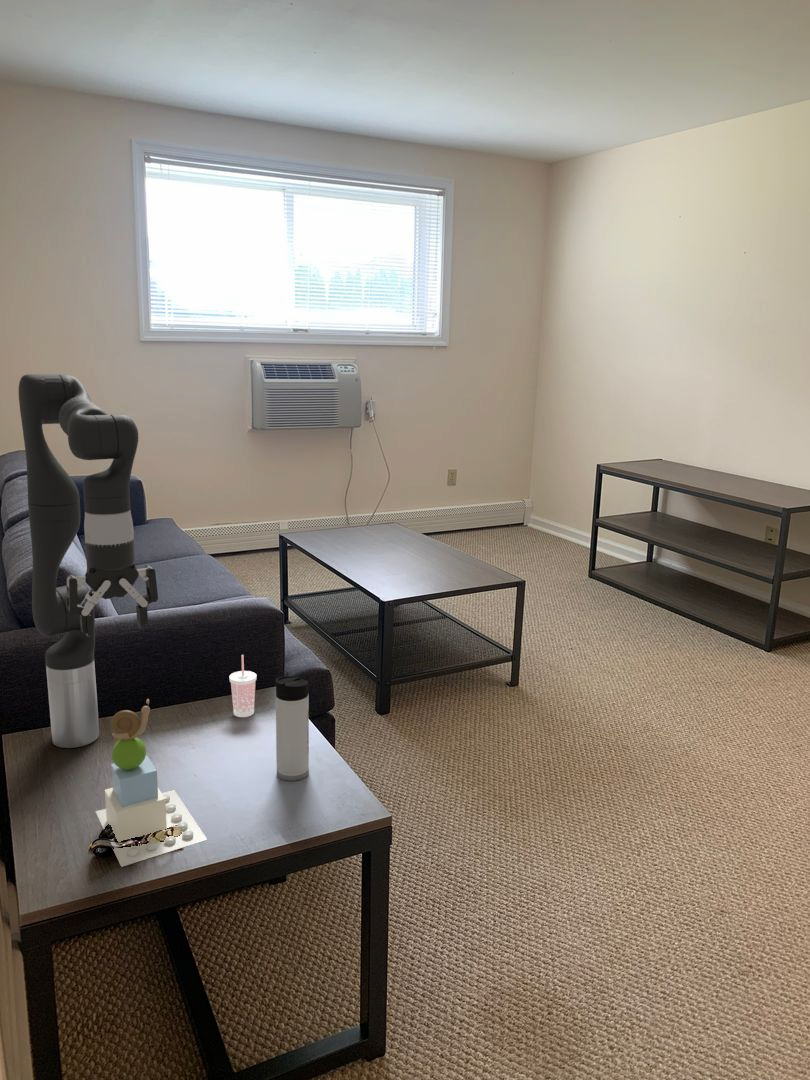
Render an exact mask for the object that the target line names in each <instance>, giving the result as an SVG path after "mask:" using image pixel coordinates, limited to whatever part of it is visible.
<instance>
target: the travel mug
mask: <svg viewBox="0 0 810 1080" xmlns="http://www.w3.org/2000/svg"><path fill="white" fill-rule="evenodd" d="M309 695H310V693H309V681H308V680H305V679H303V678H301V677H300V676H296V675H285V676H279V677H277V678H276V679H275V741H276V742H275V743H276V744H275V747H276V748H275V749H276V751H275V752H276V753H275V754H276V775H277V777H278V778H279V779H281V780H284V781H287V782H288V781H289V782H294V781H299V780H303V779H305V778H306V777H307V776H308V774H309V771H310V769H309V768H310V766H309V765H310V763H309V762H310V759H309V755H310V753H309V751H310V750H309V749H310V746H309V744H310V743H309V741H310V739H309V738H310V737H309V736H310V735H309V733H310V732H309V731H310V730H309V729H310V728H309V727H310V726H309V725H310V724H309V721H310V720H309V717H310V716H309V715H310V711H309V710H310V709H309V706H310V705H309V704H310V702H309V700H310V699H309V698H310V697H309Z"/></svg>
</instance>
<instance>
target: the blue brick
mask: <svg viewBox="0 0 810 1080" xmlns="http://www.w3.org/2000/svg"><path fill="white" fill-rule="evenodd" d="M110 767H111V768H110V769H111V770H110V771H111V785H112V786H111V788H113V792H114V794H115V796H116V798H117V800H118V802H119V803H120V805H121V807H125V806H129V805H132V804H136V803H140V802H143V801H147V800H151V799H154V798H158V788H159V785H158V770H157V769H156V766H154V763H153V762H152V761H151V759H150V757H149V756H148V755H147V754H146V756H145V759H144V761H143V762H142V763H141V764H140V765H139V766H138V767H136V768H134V769H131V770H124V769H121V768H119V767H118V766H116V765H115V763H114V762H113V763H110Z"/></svg>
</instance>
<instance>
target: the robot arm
mask: <svg viewBox="0 0 810 1080" xmlns="http://www.w3.org/2000/svg"><path fill="white" fill-rule="evenodd" d="M18 402H19V404H18V405H19V412H20V413H19V414H20V420H21V427H22V433H23V441H24V449H25V460H26V461H25V462H26V480H27V482H26V483H27V506H28V507H27V508H28V521H29V522H28V523H29V530H30V531H29V532H30V540H31V554H32V555H31V556H32V557H31V558H32V575H31V576H32V578H31V582H32V583H31V611H32V612H31V613H32V618H33V622H34V625H35V626H34V627H35V628H36V630H37V632H38V633H40V635H42V636H45V637H46V636H47V637H48V636H56V635H60V634H64V633H66V634H65V635H64V636H63V637H62V638H61V639H60V640H58V641H57V642H55V643H54V644H53V645H51V646H49V647H48V649H47V650H46V651H45V655H44V660H45V668H46V669H45V670H46V680H47V690H48V691H47V694H48V705H49V718H50V731H51V741H52V744H53V745H54V746H56V747H59V748H65V749H72V748H79V747H85V746H87V745H90V744H92V743H94V742H95V741H97V739H98V738H99V736H100V729H99V728H100V726H99V711H98V709H99V708H98V693H97V682H96V668H95V648H96V634H95V631H96V630H95V629H96V627H95V626H96V624H95V623H96V622H95V621H96V619H95V618H96V617H95V613H96V611H95V606H96V605H97V604H98V603H99V601H100V600H101V599H104V600H110V599H113V598H124V597H125V596H126V595H127V594H129V595H130V597H132V598H133V600H135V601H136V602H137V604H136V605H135V608H136V609H135V610H136V625H137V627H138V628H139V629H144V628H145V627H146V626H145V625H147V624H148V622H149V617H148V616H149V615H148V606H149V605H150V604H152V603H156V602H158V600H159V593H158V583H157V577H156V570H155V569H154V568H153V567H152V566H151V565H148V564H147V565H145V567H143V568H137V567H136V559H135V540H134V539H135V538H134V537H135V531H134V523H133V518H132V513H131V511H132V510H131V496H130V495H131V494H130V492H131V490H130V485H131V484H130V483H131V477H132V470H133V465H134V461H135V457H136V452H137V449H138V445H139V431H138V430H139V429H138V427H137V425H136V423H135V421H134V420H133V419H132V418H131V417H129V416H128V415H125V414H107V413H106V412H105V411H104V410H103V409H102V408H101V407H99V406H98V405H96V404H95V403H94V402H93V401H92V399H91V397H90V395H89V393H88V392H87V390H86V388H85V386H84V385H83V384H82V382H81V381H80V380H79V379H78V378H77V377H75V376H72V375H69V374H50V373H49V374H41V373H39V374H38V373H35V374H34V373H31V374H25V375H22V376H21V378H20V380H19V383H18ZM56 424H58V425H59V427H61V429H62V431H63V433H64V434H66V436H67V442H68V448H69V449H70V452H71V453H72V455H73V456H74V457H75V458H77V459H80V460H84V461H98V460H112V462H111V464H110V465H109V467H108V468H107V469H106V470H103V471H100V472H96V473H93V474H89V475H88V476H86V477H84V479H83V482H82V483H83V485H82V487H83V489H82V491H83V505H84V522H83V529H84V530H83V531H84V545H85V560H86V572H85V574H84V575H77V576H75V575H72V574H68V575H67V576H66V578H65V579H66V585H63V586H58V587H57V578H58V574H59V569H60V566H61V564H62V561H63V559H64V557H65V555H66V553H68V550H69V549H70V546H72V543H73V542H74V540H75V538H76V535H77V534H78V532H79V529H80V527H81V526H80V525H81V501H80V500H81V499H80V491H79V489H78V486H77V485H76V483H75V482H74V480H73V479H72V477H71V476H70V475H69V473H68V472H67V471H66V470H65V469H64V468H63V466H62V465H61V463H60V462H59V461H58V459H57V458H56V456H55V455H54V454H53V452H52V450H51V448H50V447H49V446H48V443H47V441H46V438H45V435H44V431H43V425H56ZM139 577H140V578H141V579H142V580H143V581H145V589H146V594H145V595H143V596H142V595H141V593H139V592H138V590H136V588H135V587H134V584H135V583H136V582H137V580H138V578H139ZM85 584H86V585H85ZM88 587H89V588H88Z"/></svg>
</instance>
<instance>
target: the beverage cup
mask: <svg viewBox="0 0 810 1080" xmlns="http://www.w3.org/2000/svg"><path fill="white" fill-rule="evenodd" d="M244 657H245V655H244V654H241V670H239V671H234V672H232V673H231V674H230V675H229V683H230V686H231V687H230V689H231V698H232V699H231V701H232V707H233V708H232V711H233V715H234V716H235V717H238V718H248V717H250V716H253V715H254V713H255V702H256V701H255V697H256V681H257V678H258V677H257V673H255V672H253V671H251V670H245V663H244V662H245V661H244V660H245V659H244Z"/></svg>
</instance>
